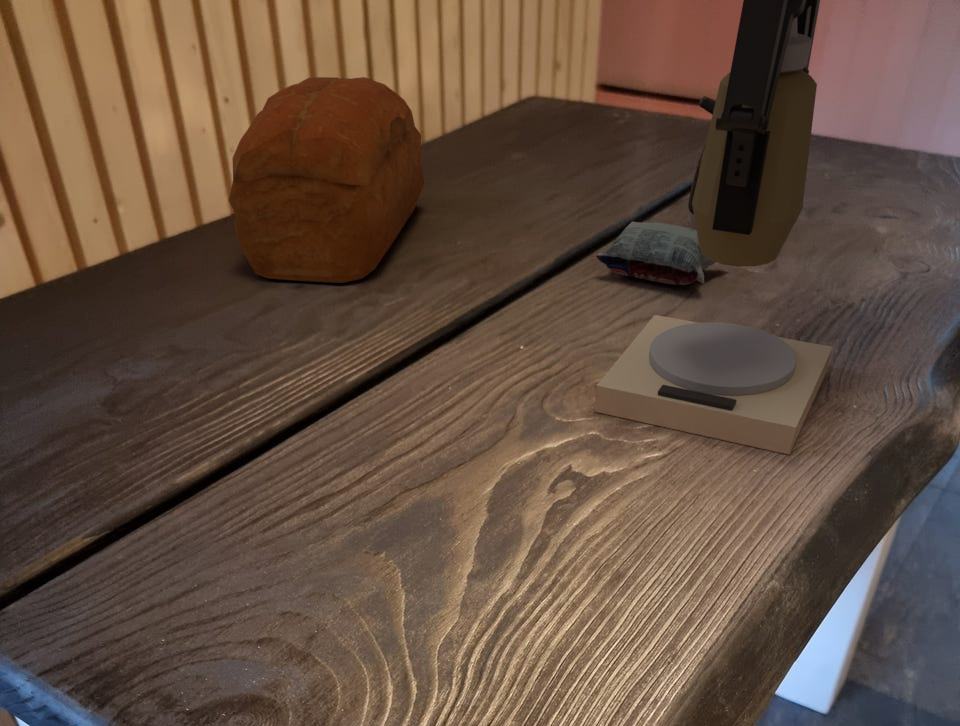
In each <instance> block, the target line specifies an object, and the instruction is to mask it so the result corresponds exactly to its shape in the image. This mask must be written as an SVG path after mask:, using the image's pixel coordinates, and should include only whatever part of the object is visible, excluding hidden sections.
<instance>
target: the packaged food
mask: <svg viewBox="0 0 960 726" xmlns="http://www.w3.org/2000/svg"><path fill="white" fill-rule="evenodd" d="M595 257H596V258H597V260H598V261H599V262H601V263H602V264H604V265H605V266H606V268H608V269H609V271H611V272H612V273H613V274H616V275H620V276H625V277H629V278H630V277H631V278H635V279H640V280H646V281H649V282H655V283H659V284H667V285H673V286H686V285H690V284H692V283H693V282H695V281H698V282H699V283H701V284H703V285H704V284H705V274H704V272H703V271H704V270H706V269H707V268H708V267H710V266H712V265H714V264H715V263H716V262H714V261H711V260H709V259H708V258H706V257H704V256H703V255H702V253H701V251H700V248H699V242H698V236H697V230H695V229H694V228H692V227H689V226H688V227H687V226H682V225H678V224H671V223H665V222H662V221H643V222H638V221H631V222H630V223H629V224H628V225H627V226H626V227H625V228H624V229H623V231H622V232H621V233H620V234H619V235H618V236H617V237H616V239H615V240H614V241H613V242H612V243H611V244H610V245H609V246H608V247H606V248H604V249H603V250H602V251H600V252H599V253H597V254H596V255H595Z"/></svg>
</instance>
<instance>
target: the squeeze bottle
mask: <svg viewBox="0 0 960 726" xmlns="http://www.w3.org/2000/svg"><path fill="white" fill-rule="evenodd" d="M811 42H812V39H811V38H810V37H808V36H806V35H802V34H798V33H797V17H796V18H795V19H794V20H793V23H792V27H791V31H790V35H789V39H788V43H787V47H786V51H785V55H784V59H783V63H782V67H781V71H780V75H779V79H778V83H777V87H776V92H775V96H774V100H773V104H772V108H771V112H770V116H769V120H768V121H769V125H768V128H767V129H766V131H770V136H769V141H768V146H767V152H766V157H765V163H764V168H763V174H762V179H761V185H760V190H759V196H758V201H757V207H756V212H755V218H754V223H753V228H752V232H751V233H750V235H746V234H740V233H733V232H726V231H719V230H712V228H713V221H714V215H715V209H716V202H717V196H718V189H719V183H720V176H721V170H722V163H723V157H724V150H725V144H726V137H727V131H724V130H716V119H717V118H721V115H722V112H723V110H724V104H725V99H726V93H727V88H728V82H729V77H730V72H728V73H727V74H726V75H724V77H723V78H722V79H721V80H720V81H719V87H718V90H717V94H716V99H715V100H716V102H715V107H714V111H713V115H712V114H711V120H710V124H709V129H708V133H707V137H706V141H705V144H706V145H705V144H704V146H705V149H704V148H703V149H704V154H703V158H702V162H701V166H700V171H699V175H698V179H697V184H696V188H695V192H694V196H693V201H692V206H693V212H694V218H695V224H696V230H697V236H698V242H699V248H700V251H701V253H702V255H703V256H704V257H706V258H708V259H709V260H711V261H714V262H715V263H718V264H721V265H726V266H731V267H732V266H734V267H758V266H764V265H767V264H769V263H772V262H774V261H775V260H776V259H777V258H778V256H779V254H780V252H781V250H782V248H783V246H784V244H785V242H786V241H787V239H788V237H789V236H790V234H791V232H792V229H793V228H794V226H795V224H796V223H797V220H798V219H799V217H800V215H801V213H802V211H803V207H804V198H805V191H806V190H805V189H806V181H807V174H808V173H807V172H808V166H809V165H808V163H809V155H810V147H811V138H812V129H813V122H814V121H813V120H814V113H815V105H816V96H817V88H818V83H817V82H816V81H815V79H814V78H813V77H812V75H811V74H810V73H809V74H808V73H806V72H804V71H802V70H800V69H804V68H805V67H806V65H807V62H808V57H809V52H810V47H811ZM742 107H744V108H753V107H752V106H747V105H742Z"/></svg>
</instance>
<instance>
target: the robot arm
mask: <svg viewBox="0 0 960 726" xmlns="http://www.w3.org/2000/svg"><path fill="white" fill-rule="evenodd" d="M820 4H821V0H743V3H742V7H741V12H740V16H739V17H740V18H739V23H738V27H737V34H736V39H735V45H734V51H733V56H732V61H731V66H730V71H729V73H730V77H729V82H728V88H727V93H726V99H725V104H724V110H723V112H722V115H721V118H717V119H716V130H724V131H727V137H726V144H725V150H724V157H723V163H722V170H721V176H720V183H719V189H718V196H717V202H716V209H715V215H714V221H713V228H712V230H719V231H726V232H733V233H740V234H746V235H750V233H751V232H752V228H753V223H754V218H755V212H756V207H757V201H758V196H759V190H760V185H761V179H762V174H763V168H764V163H765V157H766V152H767V146H768V141H769V136H770V131H766V129H767V128H768V125H769V121H768V120H769V116H770V112H771V108H772V104H773V100H774V96H775V92H776V87H777V83H778V79H779V75H780V71H781V67H782V63H783V59H784V55H785V51H786V47H787V43H788V39H789V35H790V31H791V27H792V23H793V20H794V19H795V18H796V17H797V33H798V34H802V35H806V36H808V37H810V38H811V39H812V42H811V47H810V52H809V57H808V62H807V65H806V67H805V68H804V69H800V70H802V71H804V72H806V73H808V74H809V75H810V69H809V67H810V60H811V55H812V51H813V43H814V38H815V32H816V28H817V22H818V15H819V10H820ZM742 105H747V106H752V107H753V108H744V107H742Z"/></svg>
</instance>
